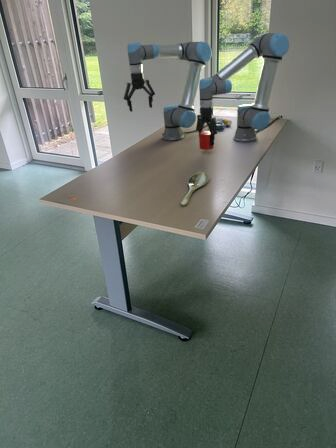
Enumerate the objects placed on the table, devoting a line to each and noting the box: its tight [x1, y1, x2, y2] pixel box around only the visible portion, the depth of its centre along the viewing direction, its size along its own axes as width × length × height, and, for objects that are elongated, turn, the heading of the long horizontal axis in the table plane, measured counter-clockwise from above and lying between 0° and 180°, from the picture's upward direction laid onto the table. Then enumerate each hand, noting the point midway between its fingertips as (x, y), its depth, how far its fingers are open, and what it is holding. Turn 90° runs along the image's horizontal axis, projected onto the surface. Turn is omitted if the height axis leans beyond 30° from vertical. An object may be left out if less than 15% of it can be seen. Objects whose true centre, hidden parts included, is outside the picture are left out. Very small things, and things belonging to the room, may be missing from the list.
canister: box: [198, 130, 215, 151], centre depth 210 cm, size 9×9×10 cm
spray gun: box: [216, 118, 233, 131], centre depth 263 cm, size 21×4×15 cm
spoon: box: [180, 171, 210, 207], centre depth 170 cm, size 35×11×2 cm, turn 159°
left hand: (141, 109), depth 209 cm, fingers open, 13 cm apart
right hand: (206, 143), depth 211 cm, fingers closed on canister, 9 cm apart
